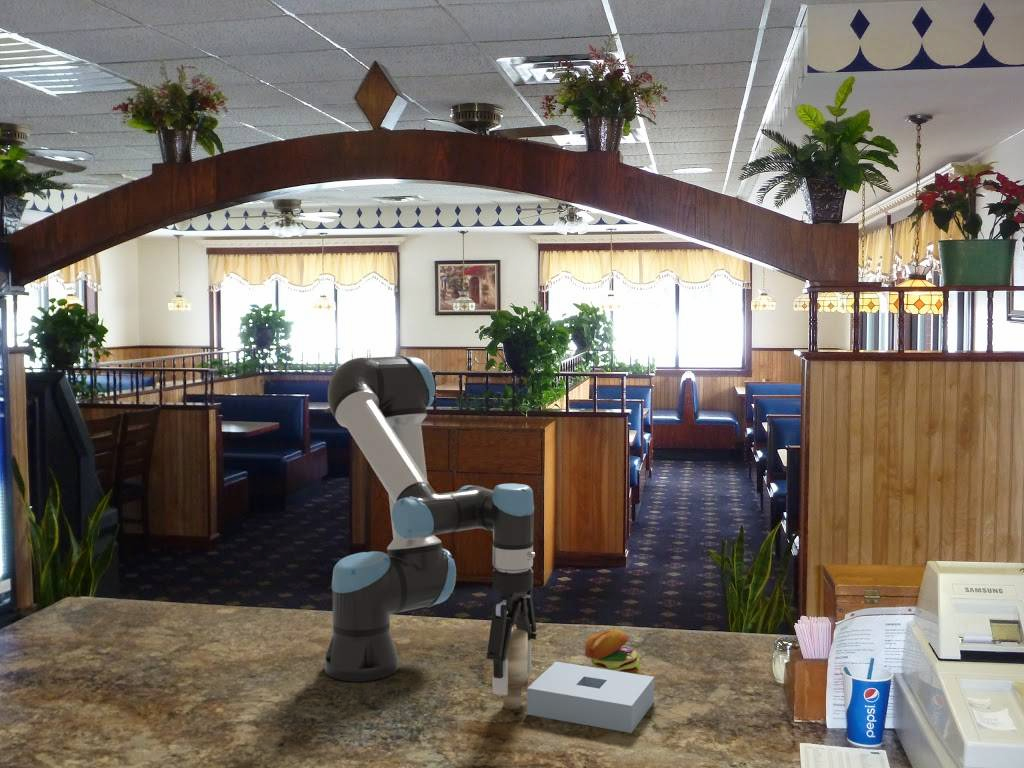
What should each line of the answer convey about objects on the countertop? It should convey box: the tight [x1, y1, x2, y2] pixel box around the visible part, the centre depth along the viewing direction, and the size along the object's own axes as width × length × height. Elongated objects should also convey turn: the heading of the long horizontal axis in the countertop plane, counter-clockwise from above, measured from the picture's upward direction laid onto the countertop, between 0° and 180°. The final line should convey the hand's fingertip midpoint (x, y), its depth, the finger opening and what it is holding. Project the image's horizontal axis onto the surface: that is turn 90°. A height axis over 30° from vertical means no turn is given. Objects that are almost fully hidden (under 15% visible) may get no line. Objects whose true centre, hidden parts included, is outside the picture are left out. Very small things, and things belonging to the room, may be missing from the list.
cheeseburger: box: [584, 628, 642, 675], centre depth 207 cm, size 10×11×10 cm
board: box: [526, 661, 655, 734], centre depth 189 cm, size 20×15×5 cm
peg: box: [502, 628, 529, 711], centre depth 189 cm, size 6×6×14 cm
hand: (512, 682), depth 190 cm, fingers open, 11 cm apart
